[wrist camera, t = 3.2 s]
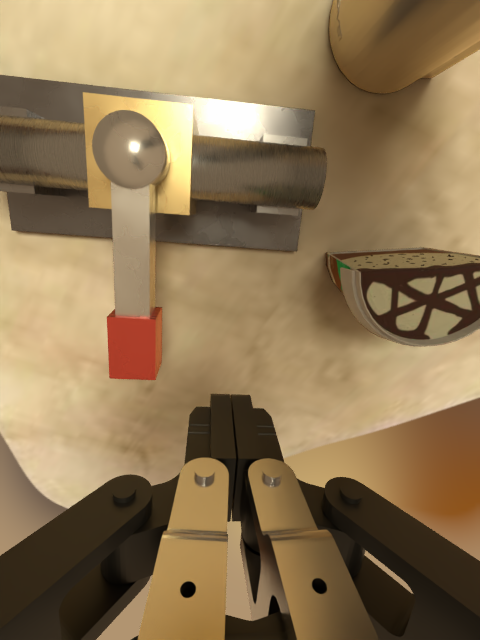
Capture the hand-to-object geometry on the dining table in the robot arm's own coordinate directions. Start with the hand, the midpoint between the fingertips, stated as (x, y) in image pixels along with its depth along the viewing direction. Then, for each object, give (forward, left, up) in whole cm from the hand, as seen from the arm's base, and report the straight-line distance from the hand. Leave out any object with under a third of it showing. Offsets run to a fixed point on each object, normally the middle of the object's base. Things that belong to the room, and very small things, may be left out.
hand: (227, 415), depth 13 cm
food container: (-15, -2, -20) cm, 25 cm away
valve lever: (+5, -4, -11) cm, 13 cm away
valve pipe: (+5, -10, -20) cm, 23 cm away
